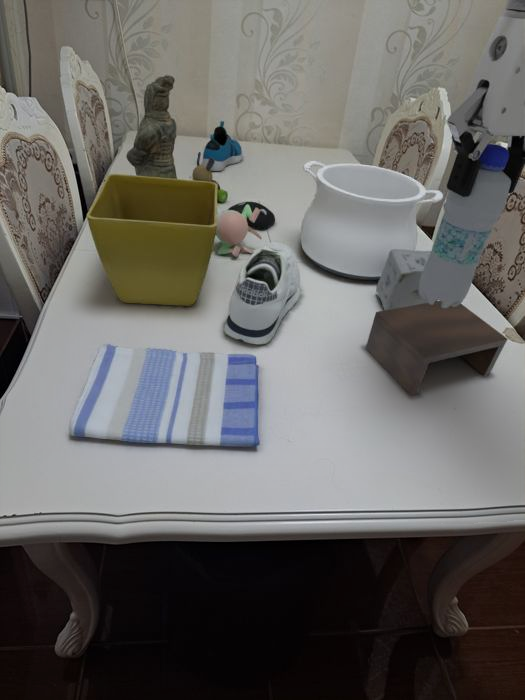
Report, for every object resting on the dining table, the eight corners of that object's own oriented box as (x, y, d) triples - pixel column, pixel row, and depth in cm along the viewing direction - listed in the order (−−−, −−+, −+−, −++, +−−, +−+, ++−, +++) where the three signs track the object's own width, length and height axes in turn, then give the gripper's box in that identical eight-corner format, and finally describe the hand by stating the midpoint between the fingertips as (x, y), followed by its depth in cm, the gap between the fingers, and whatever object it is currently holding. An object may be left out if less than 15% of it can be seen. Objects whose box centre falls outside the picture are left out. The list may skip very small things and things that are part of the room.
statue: (152, 209, 116) (147, 66, 98) (186, 220, 113) (187, 74, 95) (122, 225, 108) (110, 71, 90) (157, 236, 105) (152, 80, 87)
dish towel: (101, 353, 72) (99, 337, 71) (259, 365, 74) (261, 350, 72) (63, 441, 59) (60, 425, 57) (258, 454, 60) (260, 438, 58)
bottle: (471, 314, 63) (539, 156, 51) (420, 310, 63) (477, 150, 51) (454, 288, 69) (512, 139, 57) (408, 284, 68) (457, 133, 56)
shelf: (489, 374, 78) (507, 338, 74) (410, 396, 72) (425, 358, 67) (440, 332, 86) (453, 298, 82) (365, 348, 80) (375, 311, 76)
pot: (271, 260, 101) (281, 176, 91) (312, 223, 120) (325, 149, 109) (404, 302, 93) (432, 215, 83) (426, 255, 112) (452, 179, 101)
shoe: (248, 154, 160) (252, 115, 153) (225, 174, 142) (227, 130, 134) (222, 149, 161) (224, 110, 154) (195, 168, 143) (196, 125, 136)
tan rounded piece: (229, 201, 126) (232, 156, 119) (204, 208, 120) (206, 162, 113) (205, 190, 130) (206, 146, 123) (180, 196, 125) (179, 151, 118)
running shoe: (305, 271, 99) (314, 217, 92) (286, 355, 76) (297, 292, 69) (252, 262, 100) (257, 207, 93) (218, 343, 77) (222, 278, 70)
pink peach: (275, 222, 102) (249, 212, 108) (246, 197, 95) (220, 187, 101) (245, 271, 103) (221, 258, 109) (214, 250, 96) (190, 237, 102)
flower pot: (212, 319, 82) (217, 225, 72) (96, 313, 80) (84, 216, 70) (213, 265, 97) (217, 181, 87) (116, 259, 95) (108, 173, 85)
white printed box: (386, 318, 88) (402, 267, 82) (373, 294, 95) (387, 245, 88) (437, 319, 90) (456, 269, 83) (421, 295, 96) (437, 247, 90)
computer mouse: (235, 209, 122) (236, 193, 119) (278, 222, 118) (280, 206, 115) (219, 218, 116) (220, 202, 114) (263, 232, 112) (265, 216, 110)
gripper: (517, -3, 40) (445, 208, 51) (642, 15, 47) (555, 198, 58) (454, -10, 45) (401, 183, 56) (574, 7, 52) (506, 176, 63)
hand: (479, 189), depth 57 cm, fingers closed on bottle, 6 cm apart
